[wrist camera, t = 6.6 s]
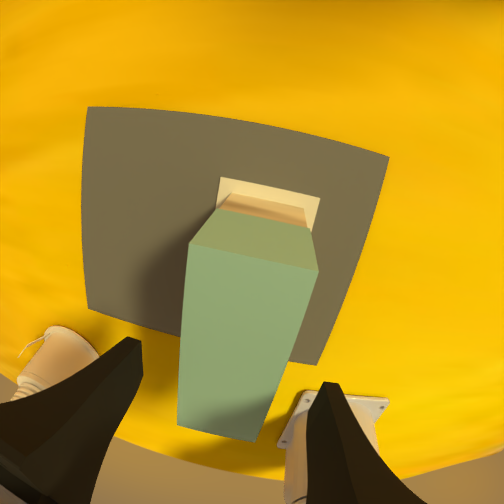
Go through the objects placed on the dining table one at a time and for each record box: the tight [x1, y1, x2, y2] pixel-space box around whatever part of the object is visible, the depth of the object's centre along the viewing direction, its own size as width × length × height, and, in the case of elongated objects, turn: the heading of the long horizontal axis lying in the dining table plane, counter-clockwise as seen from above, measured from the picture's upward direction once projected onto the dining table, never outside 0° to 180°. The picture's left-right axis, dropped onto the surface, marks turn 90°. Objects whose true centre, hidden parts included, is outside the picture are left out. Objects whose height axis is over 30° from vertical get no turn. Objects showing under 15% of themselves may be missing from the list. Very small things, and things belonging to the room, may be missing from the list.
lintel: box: [177, 208, 319, 442], centre depth 13 cm, size 10×4×4 cm, turn 169°
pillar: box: [219, 193, 307, 228], centre depth 16 cm, size 4×4×4 cm
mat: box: [81, 107, 389, 365], centre depth 18 cm, size 15×18×1 cm
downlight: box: [10, 326, 100, 401], centre depth 20 cm, size 8×7×10 cm
